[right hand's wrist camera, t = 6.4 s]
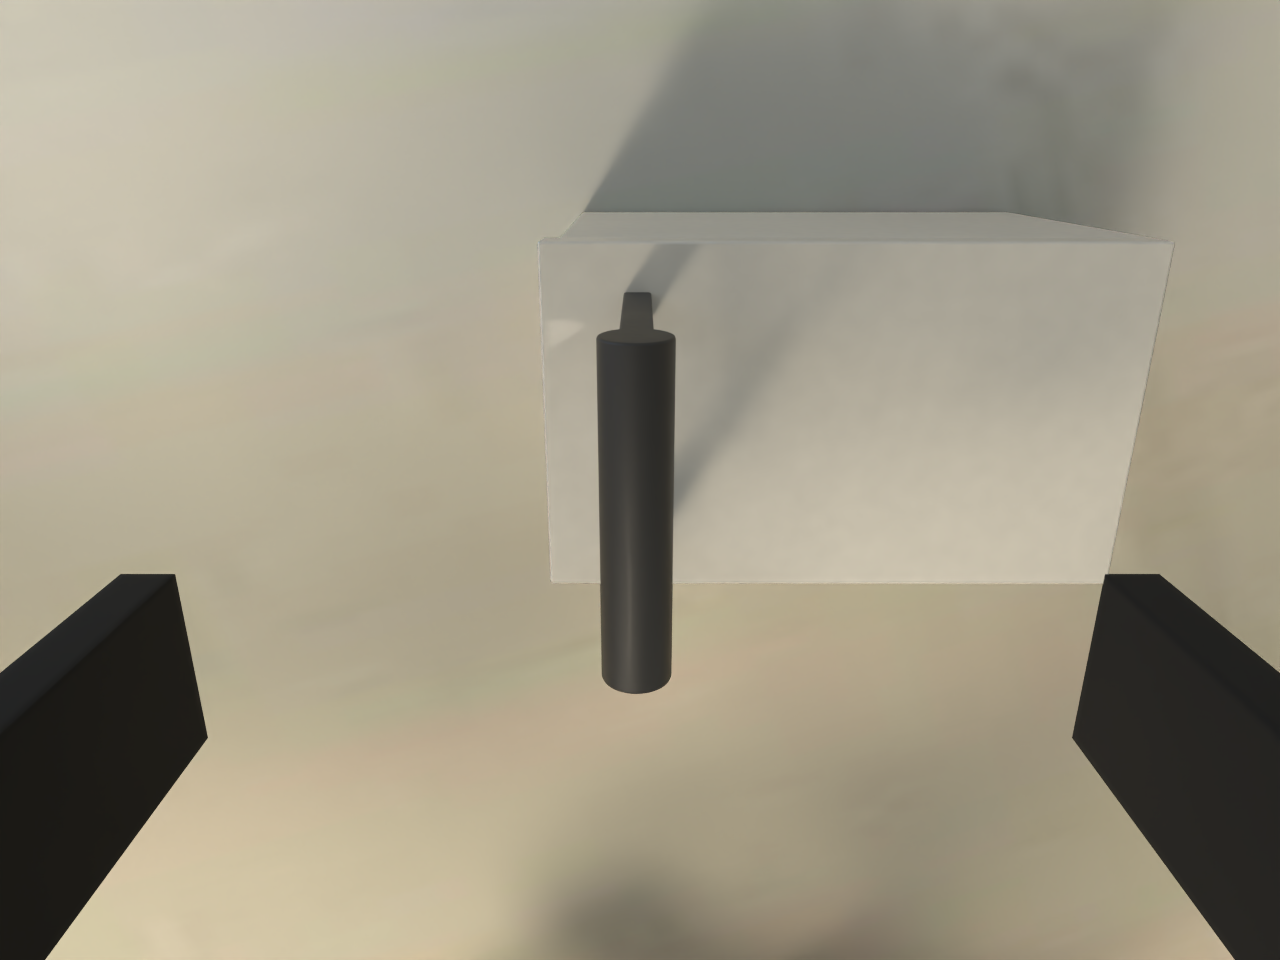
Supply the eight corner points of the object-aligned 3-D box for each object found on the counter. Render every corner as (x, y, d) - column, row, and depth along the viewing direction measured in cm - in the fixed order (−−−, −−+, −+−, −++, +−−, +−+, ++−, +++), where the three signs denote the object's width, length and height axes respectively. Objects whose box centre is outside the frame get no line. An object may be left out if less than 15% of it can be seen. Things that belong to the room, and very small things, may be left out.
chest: (587, 459, 36) (569, 566, 27) (582, 212, 32) (559, 236, 23) (973, 459, 36) (1088, 567, 27) (1007, 212, 32) (1152, 236, 23)
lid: (553, 567, 26) (518, 739, 19) (541, 236, 23) (492, 281, 16) (1089, 567, 26) (1272, 740, 19) (1153, 236, 23) (1406, 281, 16)
